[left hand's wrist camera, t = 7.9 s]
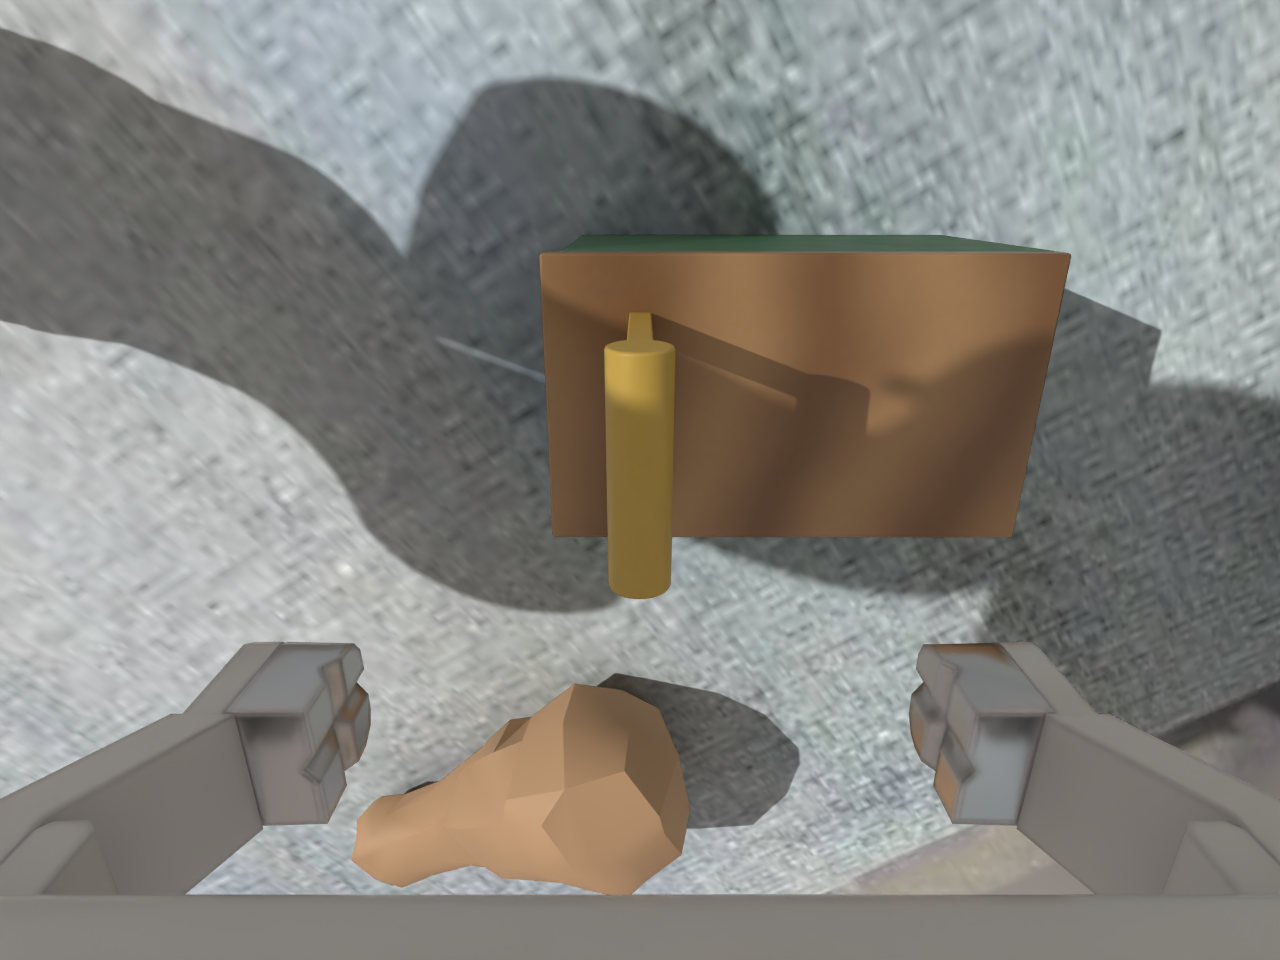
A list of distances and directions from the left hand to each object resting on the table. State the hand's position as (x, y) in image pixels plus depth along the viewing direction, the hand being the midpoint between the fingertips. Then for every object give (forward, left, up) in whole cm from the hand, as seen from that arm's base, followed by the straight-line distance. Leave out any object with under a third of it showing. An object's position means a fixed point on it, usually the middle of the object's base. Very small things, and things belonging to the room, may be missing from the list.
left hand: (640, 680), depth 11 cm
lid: (+5, -1, -16) cm, 16 cm away
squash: (-11, -23, -25) cm, 36 cm away
